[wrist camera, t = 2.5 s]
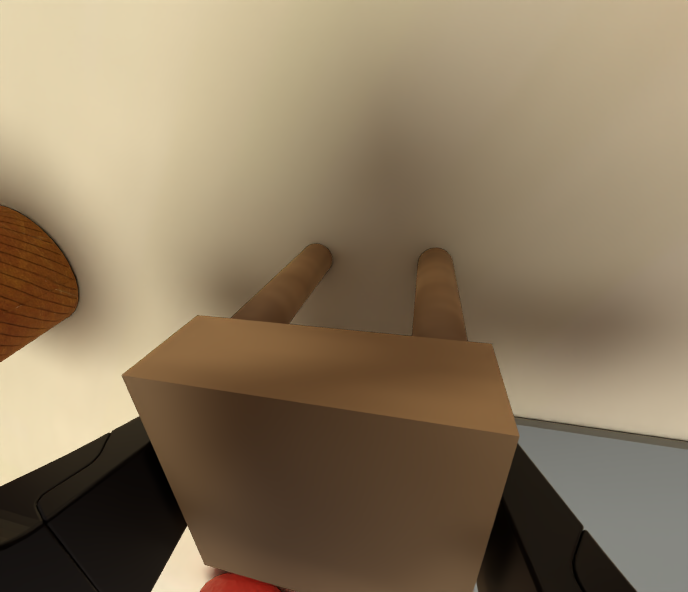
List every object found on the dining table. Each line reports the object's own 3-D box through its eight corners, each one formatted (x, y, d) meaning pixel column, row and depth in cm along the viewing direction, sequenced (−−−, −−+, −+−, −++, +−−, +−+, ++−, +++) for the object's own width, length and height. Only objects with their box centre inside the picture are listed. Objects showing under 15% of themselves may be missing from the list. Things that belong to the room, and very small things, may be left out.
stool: (461, 243, 11) (519, 435, 4) (443, 380, 14) (459, 639, 7) (295, 237, 12) (121, 374, 5) (308, 363, 15) (204, 564, 8)
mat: (877, 468, 11) (891, 479, 11) (685, 646, 18) (690, 656, 17) (428, 405, 14) (428, 411, 14) (409, 574, 21) (409, 582, 21)
